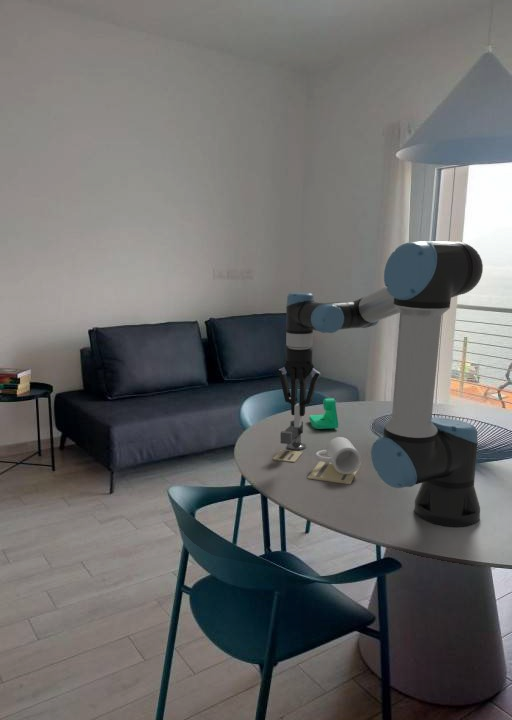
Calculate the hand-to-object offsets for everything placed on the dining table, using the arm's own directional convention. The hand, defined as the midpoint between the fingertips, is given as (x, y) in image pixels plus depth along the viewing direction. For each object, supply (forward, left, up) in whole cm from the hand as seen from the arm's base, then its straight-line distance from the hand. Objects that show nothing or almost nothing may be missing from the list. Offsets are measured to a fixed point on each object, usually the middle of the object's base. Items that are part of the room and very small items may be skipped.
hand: (297, 425), depth 172 cm
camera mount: (+40, +2, -12) cm, 42 cm away
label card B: (-1, -12, -12) cm, 17 cm away
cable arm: (+10, +5, -7) cm, 13 cm away
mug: (0, -12, -12) cm, 17 cm away
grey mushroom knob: (+15, +5, -12) cm, 20 cm away
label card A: (+6, +5, -12) cm, 14 cm away
